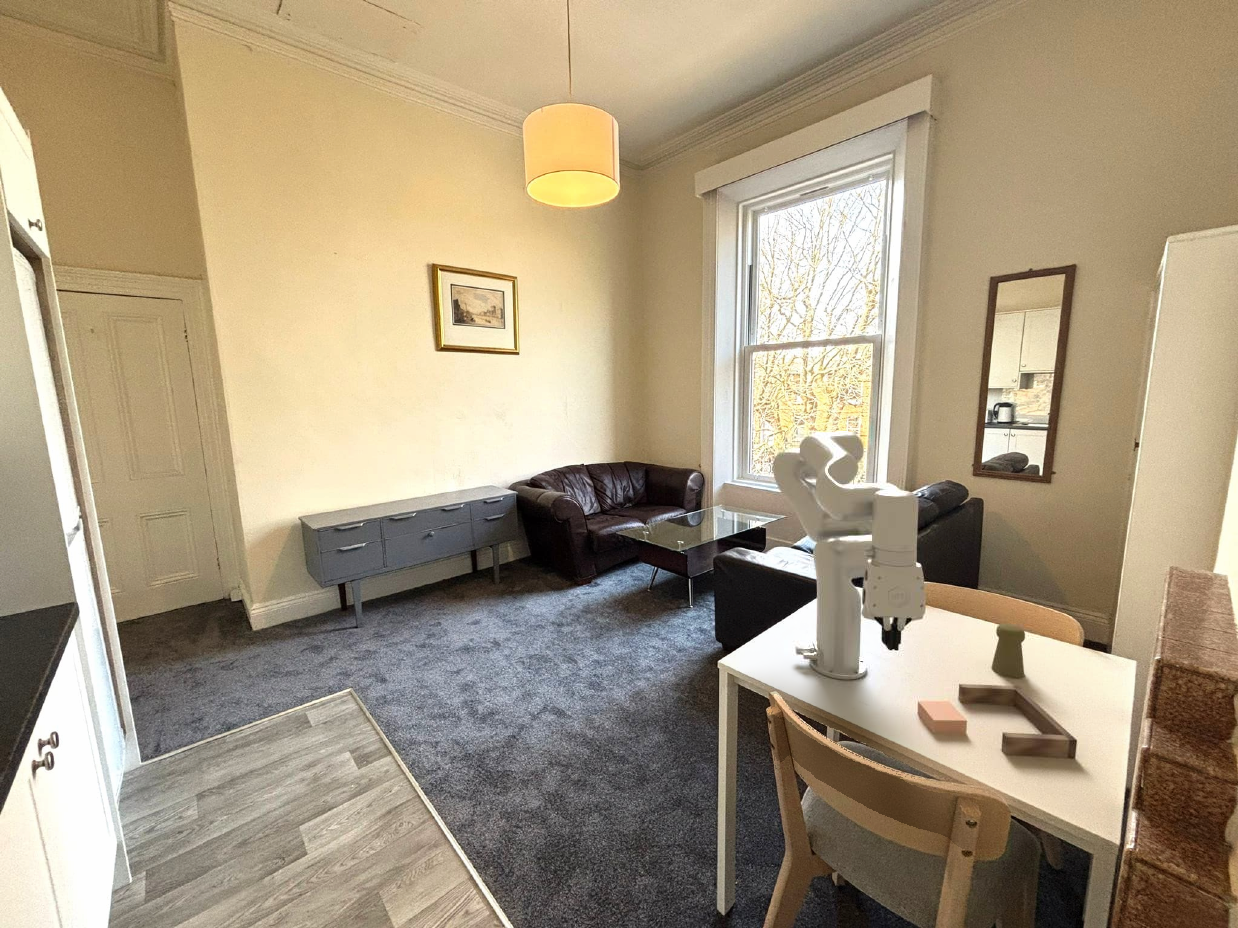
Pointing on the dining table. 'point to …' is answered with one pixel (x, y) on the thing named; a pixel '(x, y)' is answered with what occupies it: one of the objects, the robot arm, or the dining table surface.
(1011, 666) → the cork
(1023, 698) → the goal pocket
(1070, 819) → the dining table surface
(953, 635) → the dining table surface
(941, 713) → the terracotta block
